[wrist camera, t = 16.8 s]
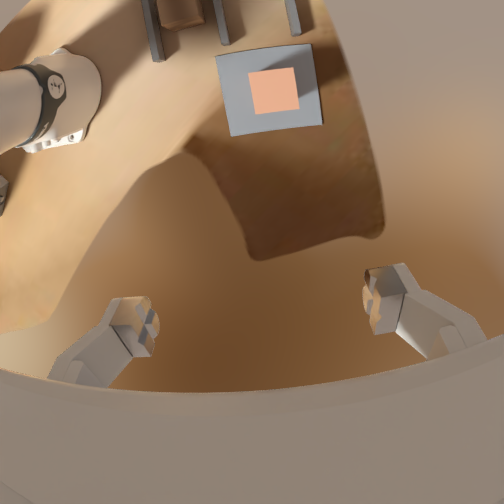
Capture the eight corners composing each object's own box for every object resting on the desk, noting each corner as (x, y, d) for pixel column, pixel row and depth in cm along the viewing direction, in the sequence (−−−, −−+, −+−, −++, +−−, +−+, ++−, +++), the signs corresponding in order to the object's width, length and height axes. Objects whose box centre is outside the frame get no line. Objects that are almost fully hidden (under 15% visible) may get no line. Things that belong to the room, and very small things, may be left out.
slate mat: (231, 136, 42) (231, 136, 42) (215, 56, 35) (215, 56, 35) (321, 124, 41) (322, 124, 40) (310, 44, 34) (310, 44, 33)
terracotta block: (255, 107, 39) (255, 114, 30) (250, 75, 37) (247, 73, 27) (289, 102, 39) (299, 108, 30) (284, 71, 36) (293, 67, 27)
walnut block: (173, 32, 33) (161, 25, 28) (167, 6, 30) (155, -3, 25) (205, 23, 32) (197, 15, 27) (199, -3, 29) (191, -15, 24)
